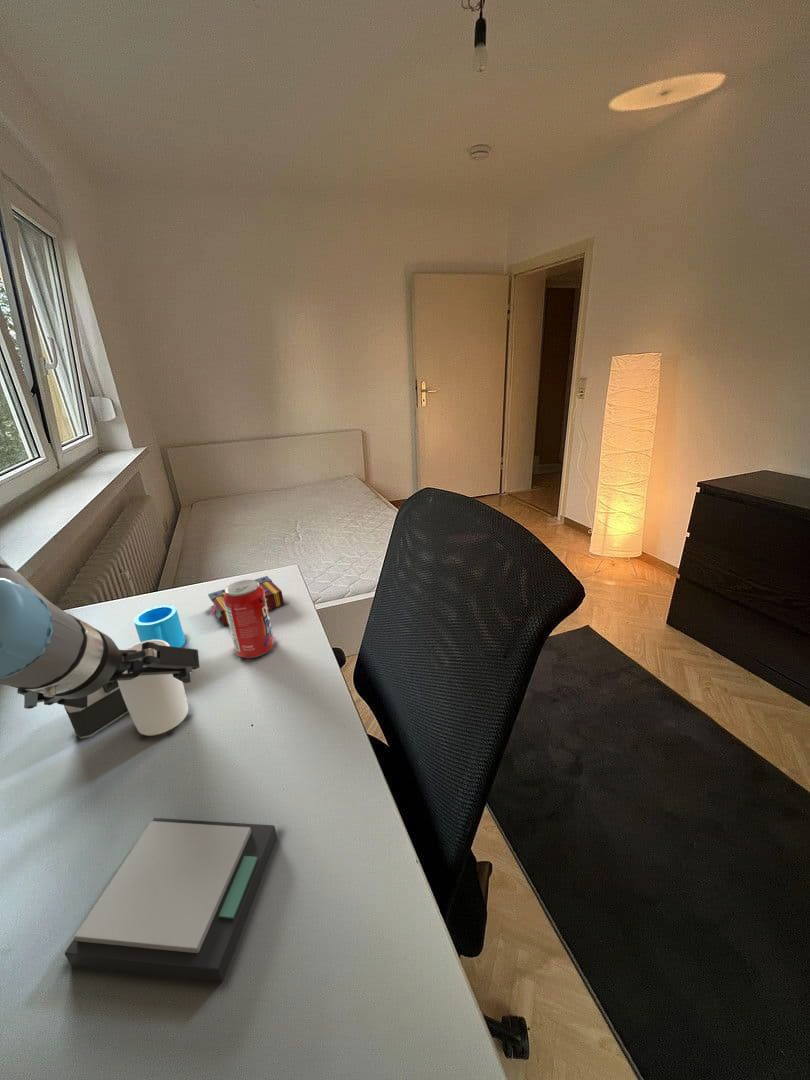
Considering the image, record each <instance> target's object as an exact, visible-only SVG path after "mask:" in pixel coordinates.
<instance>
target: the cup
mask: <svg viewBox="0 0 810 1080" xmlns="http://www.w3.org/2000/svg"><path fill="white" fill-rule="evenodd" d="M146 642H153V643H155V644H157V645H162V646H170V645H169V644H168V643H167V642H165V641H163V640H148V641H144V642H137V643H134V644H132V645H130V646H128V647H126V648H125V649H124V650H137V651H141V650H142V644H143V643H146ZM126 673H127V670H126V671H125V672H124V673H122V674H126ZM118 685H119V688H120V691H121V694H122V696H123V699H124V701H125V704H126V706H127V709H128V711H129V712H128V713H129V716H130V718H131V720H132V722H133V724H134V726H135V728H136V730H137V732H138V733H139V734H141V735H144V736H150V737H151V736H152V737H153V736H156V735H160V734H163V733H166V732H169V731H171V730H172V729H175V727H177V726H179V725H180V724H181V723H182V722H183V721H184V720H185V719H186V717H187V715H188V713H189V703H188V698H187V694H186V689H185V685H184V682H182V681H180V680H178V679H176V678H174V677H173V674H160V675H139V676H138V677H136V678H134V679H132V680H120V681H118Z"/></svg>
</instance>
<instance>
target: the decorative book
mask: <svg viewBox="0 0 810 1080" xmlns="http://www.w3.org/2000/svg"><path fill="white" fill-rule="evenodd" d="M254 580H255V581H257V582H258V583H259V585H260V586H261V587H262V588H263V589H264V593H265V598H266V603H267V608H268V612H271V611H273V610H274V609H275V608H277V607H278V608H279V607H280V606H284V605H285V602H284V597H283V591H282V590H281V589H280V588H279V587H278V585H276V584H275V583H274V582H273V580H272V579H271V577H269V576H268V575H265V576H262V577H259V578H255V579H254ZM207 595H208V598H209V599H210V601H211V602H212V603H213V605H211V606H210V608H211V609H209V613H210V615H211V616H213V615H214V614H215V616H216V619H217V620H219V621H220V622H221V623H222V626H224V627H225V626H227V625H229V622H228V618H227V614H226V609H225V605H224V601H223V597H224V595H225V588H224V589H220V590H217V591H214V592H211V593H208V594H207ZM211 613H212V614H211Z"/></svg>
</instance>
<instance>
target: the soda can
mask: <svg viewBox="0 0 810 1080" xmlns="http://www.w3.org/2000/svg"><path fill="white" fill-rule="evenodd" d="M224 590H225V595H224V597H223V601H224V605H225V609H226V614H227V618H228V622H229V624H228V626H229V630H230V634H231V638H232V642H233V646H234V650H235V654H236V655H237V656H238V657H241V658H245V659H251V658H252V659H253V658H257V657H260V656H263V655H265V654H267V653H269V652H270V650H271V649H272V648H273V647H274V645H275V638H274V634H273V629H272V628H273V627H272V623H271V618H270V612H269V611H268V608H267V603H266V598H265V593H264V589H263V588H262V587H261V586H260V585H259V583H258V582H257V581H255V579H243V580H239V581H235V582H233V583H231V584H229V585H227V586H226V587H225V588H224Z"/></svg>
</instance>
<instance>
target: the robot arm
mask: <svg viewBox="0 0 810 1080" xmlns="http://www.w3.org/2000/svg"><path fill="white" fill-rule="evenodd" d="M199 657H200V656H199V649H197V648H196V649H195V648H187V647H181V648H179V647H170V646H162V645H157V644H155V643H153V642H146V643H143V644H142V650H141V651H137V650H125V649H120V648H119V647H118V646H117V644H116V642H115V641H114V640H113V639H112V638H111V637H110V636H109V635H107V634H106V633H104V632H102V631H101V630H99V629H97V628H95V627H94V626H93V625H91V624H89V623H87V622H85V621H84V620H82V619H81V618H78V617H76V616H74V615H72V614H70V613H68V612H66V611H64V610H63V609H61V608H60V607H58V606H57V605H55V604H53V603H52V602H51V601H50V600H48V599H47V598H46V597H45V596H44V595H43V594H41V592H40V591H38V590H37V589H36V588H35V587H34V586H33V585H32V584H31V583H30V582H29V581H28V580H27V579H26V578H25V577H24V576H22V574H20V573H19V572H18V571H16V570H15V569H14V568H13V567H12V566H11V565H10V564H9V563H8V562H7V561H6V560H5V559H4V558H3V556H1V555H0V685H2V686H7V687H12V688H14V689H17V694H19V695H22V696H24V702H23V703H24V704H23V708H24V709H28V710H30V709H33V708H35V707H37V706H38V703H43V705H44V706H52V705H54V704H57V705H60V706H61V705H62V706H64V705H66V706H71V707H76V708H81V709H82V708H86V707H87V696H88V695H90V694H92V693H94V692H96V691H97V690H99V689H100V688H101V687H103V686H104V685H105V684H106V683H111V682H113V681H120V680H132V679H134V678H136V677H138V676H139V675H160V674H173V677H174V678H176V679H178V680H180V681H182V682H183V684H189V683H191V673H193V671H195V670H197V669H200V658H199ZM126 670H127V673H126V674H122V673H124V672H125V671H126Z"/></svg>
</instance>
